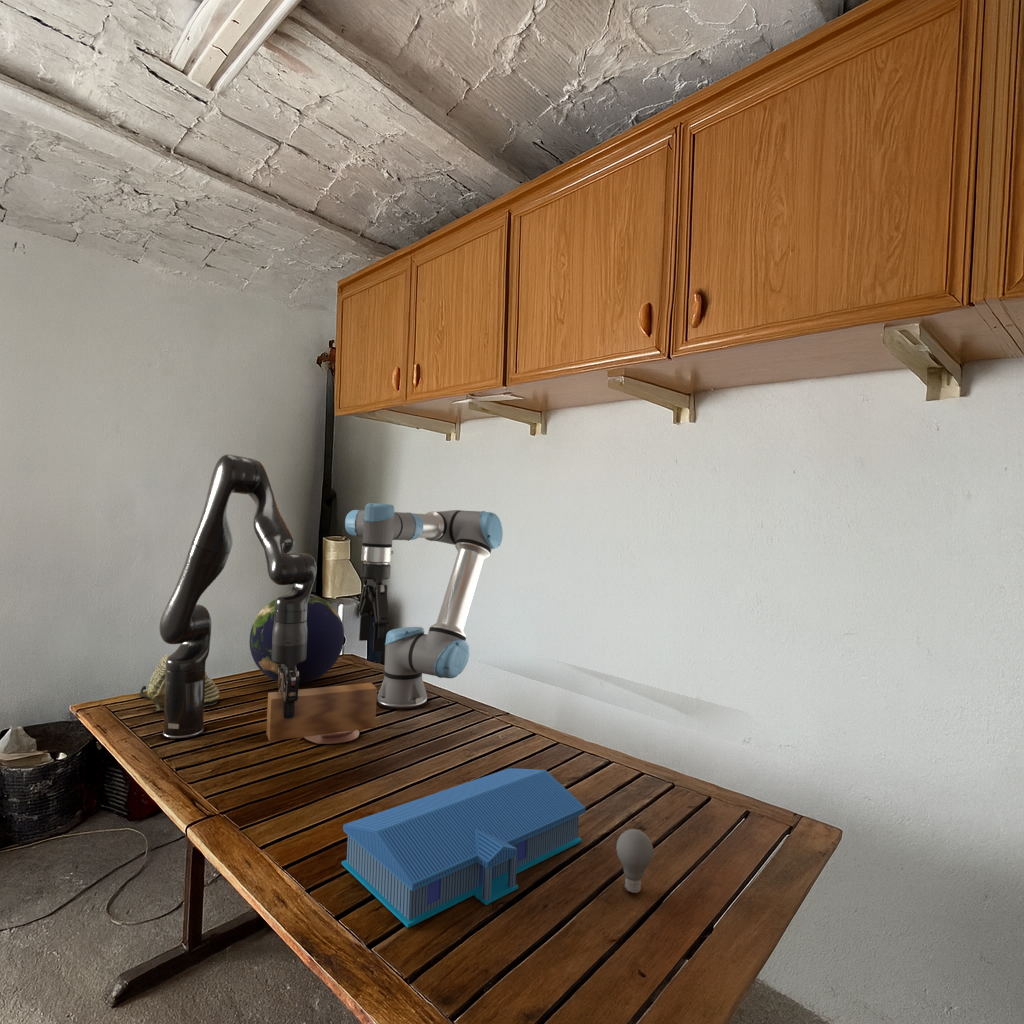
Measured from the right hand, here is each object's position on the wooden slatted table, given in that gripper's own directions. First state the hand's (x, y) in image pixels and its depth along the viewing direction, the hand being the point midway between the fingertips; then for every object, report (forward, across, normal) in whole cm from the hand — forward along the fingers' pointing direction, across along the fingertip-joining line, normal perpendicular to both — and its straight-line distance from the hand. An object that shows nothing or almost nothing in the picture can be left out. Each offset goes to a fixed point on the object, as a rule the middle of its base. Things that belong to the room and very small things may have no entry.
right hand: (371, 645), depth 163 cm
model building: (+26, -58, -5) cm, 63 cm away
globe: (+25, +60, +8) cm, 65 cm away
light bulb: (+26, -77, -25) cm, 85 cm away
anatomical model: (+25, +8, +7) cm, 27 cm away
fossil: (+26, +47, +41) cm, 67 cm away
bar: (+18, -8, +13) cm, 24 cm away
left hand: (+13, -9, +21) cm, 26 cm away
